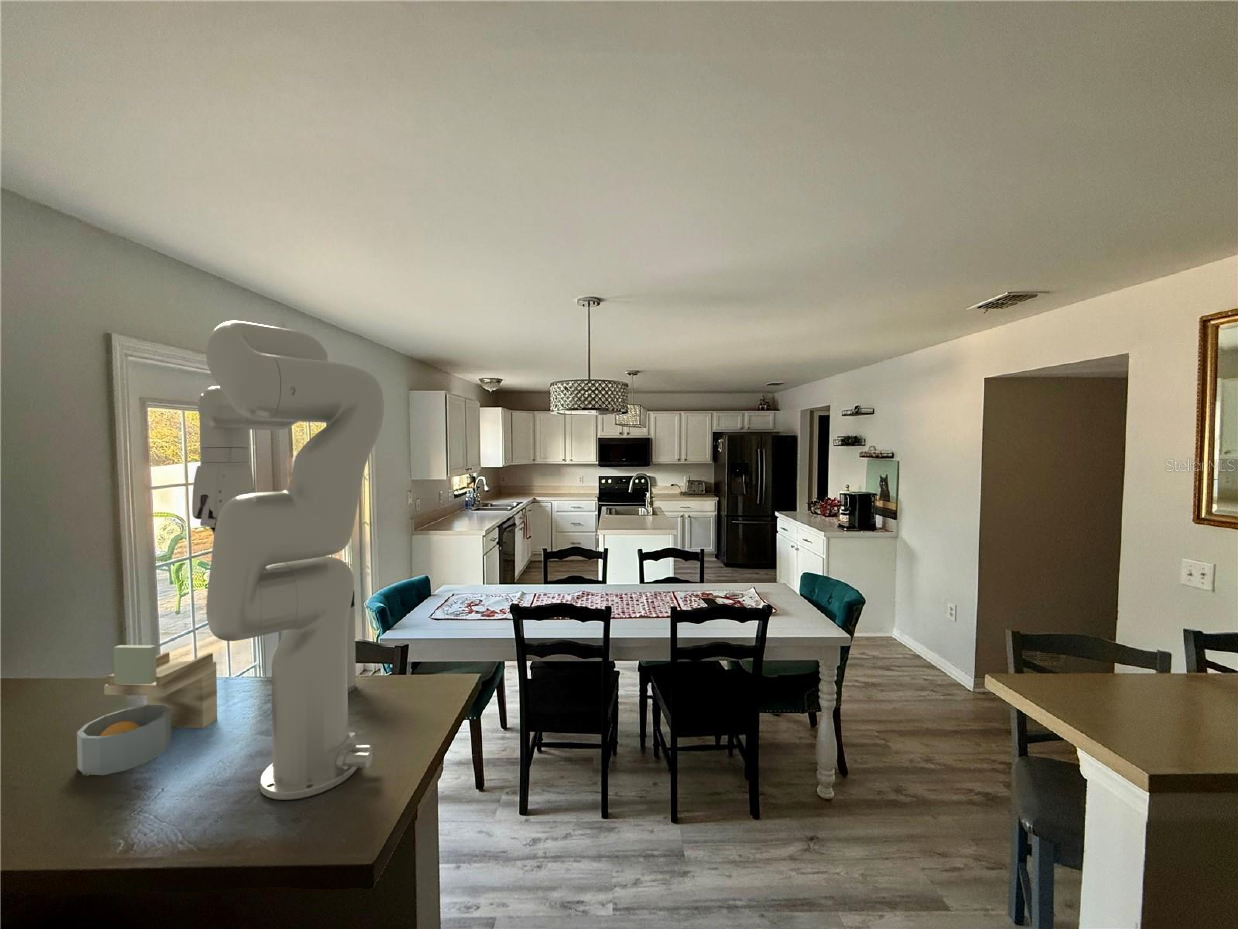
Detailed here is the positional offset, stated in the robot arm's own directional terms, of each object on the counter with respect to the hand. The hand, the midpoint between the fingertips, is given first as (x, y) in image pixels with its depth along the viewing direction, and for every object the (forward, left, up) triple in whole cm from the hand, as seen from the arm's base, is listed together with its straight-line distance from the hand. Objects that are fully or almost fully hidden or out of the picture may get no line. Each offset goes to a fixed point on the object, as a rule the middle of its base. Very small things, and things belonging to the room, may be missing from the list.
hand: (227, 554), depth 99 cm
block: (+2, +16, -18) cm, 24 cm away
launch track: (+2, +11, -28) cm, 30 cm away
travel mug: (-18, -6, -28) cm, 34 cm away
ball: (+2, +19, -25) cm, 31 cm away
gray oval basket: (+2, +18, -28) cm, 33 cm away
